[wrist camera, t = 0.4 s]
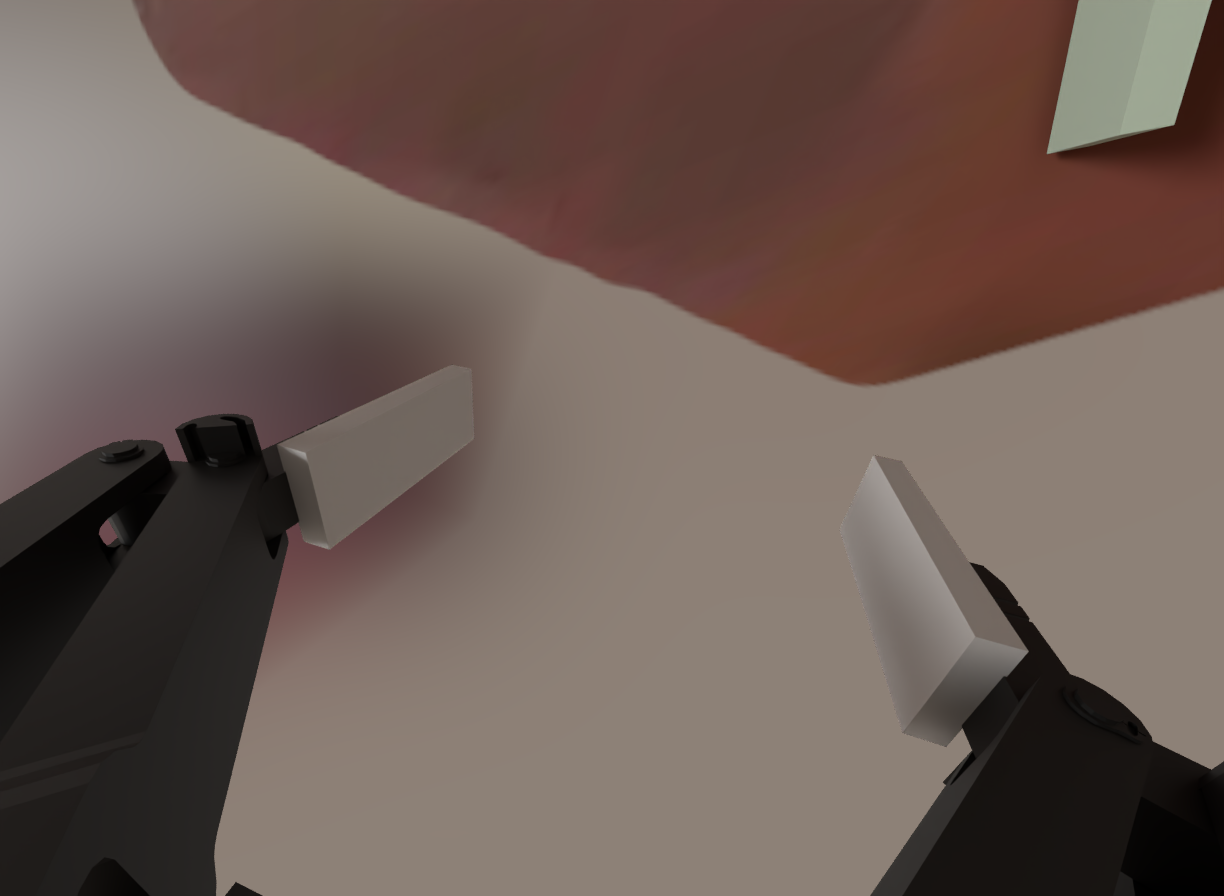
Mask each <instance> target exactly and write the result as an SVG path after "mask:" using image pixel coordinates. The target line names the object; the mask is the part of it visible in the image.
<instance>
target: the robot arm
mask: <svg viewBox="0 0 1224 896" xmlns="http://www.w3.org/2000/svg"><path fill="white" fill-rule="evenodd" d="M175 430H176V433H177V435H178V438H179V440H180V443H181V445H182V448H183V450H184V453H185V455H186V458H187V460H188V462H181V461H180V462H179V461H169V459H168V456H167V454H166V452H165V449H164V447H163V444H161V443H159V442H157V441H150V440H124V441H122V442H120V441H118V442H113V443H111V444H109V445H107V446H103V447H100V448H97V449H95V450H93V451H90V452H88V453H86V454H84V455H83V456H81V457H79V458H78V459H76V460H74V461H72V462H71V463H69V464H67V465H66V466H64V467H62V468H61V469H59V470H57V471H56V472H54V473H52V474H51V475H49V476H47V477H45V478H44V479H42V480H40V481H39V482H37V483H36V484H34V485H32V486H30V487H29V488H27V489H25V490H24V491H22V492H20V493H19V494H17V495H15V496H13V497H12V498H10V499H8V500H7V501H5V502H3V503H2V504H0V896H216V873H215V862H214V849H215V841H216V836H217V831H218V827H219V823H220V819H221V815H222V811H223V807H224V803H225V799H226V795H227V791H228V787H229V783H230V779H231V775H232V770H233V766H234V762H235V758H236V754H237V750H238V746H239V742H240V738H241V733H242V730H243V725H244V722H245V717H246V713H247V710H248V706H249V701H250V697H251V693H252V689H253V685H254V681H255V677H256V673H257V669H258V665H259V661H260V657H261V653H262V648H263V645H264V641H265V636H266V632H267V628H268V624H269V620H270V616H271V612H272V608H273V604H274V599H275V596H276V592H277V588H278V584H279V580H280V576H281V572H282V568H283V563H284V559H285V555H286V551H287V547H288V537H287V533H286V530H287V529H289V528H290V527H292V526H293V525H295V524H296V523H298V522H299V526H300V529H301V533H302V537H303V540H304V542H307V543H310V544H314V545H317V546H320V547H323V548H326V549H329V550H330V549H331V548H332V547H333V546H335V545H336V544H337V543H339V542H340V541H341V540H343V539H344V538H345V537H347V536H348V535H349V534H351V533H352V532H353V531H354V530H356V529H357V528H358V527H360V526H361V525H362V524H363V523H365V522H366V521H367V520H369V519H370V518H371V517H373V516H374V515H375V514H377V513H378V512H379V511H381V510H382V509H383V508H384V507H386V506H387V505H388V504H390V503H391V502H392V501H394V500H395V499H396V498H397V497H399V496H400V495H401V494H403V493H404V492H405V491H406V490H408V489H409V488H410V487H412V486H413V485H414V484H416V483H417V482H418V481H420V480H421V479H422V478H424V477H425V476H426V475H427V474H429V473H430V472H431V471H433V470H434V469H435V468H437V467H438V466H439V465H441V464H442V463H443V462H444V461H446V460H447V459H448V458H449V457H451V456H452V455H454V454H455V453H456V452H457V451H459V450H460V449H461V448H463V447H464V446H465V445H466V444H468V443H469V442H470V441H472V440H473V439H474V422H473V395H472V370H471V369H470V368H465V367H461V366H456V365H450V366H448V367H445V368H443V369H441V370H439V371H437V372H435V373H432V374H430V375H428V376H426V377H424V378H421V379H420V380H417V381H415V382H413V383H411V384H409V385H406V386H404V387H402V388H400V389H397V390H395V391H393V392H391V393H389V394H387V395H384V396H382V397H380V398H378V399H376V400H373V401H371V402H369V403H367V404H365V405H362V406H361V407H358V408H356V409H354V410H352V411H350V412H347V413H345V414H343V415H341V416H336V417H334V418H332V419H330V420H327V421H325V422H323V423H321V424H320V425H319V426H317V425H316V426H314V427H312V428H310V429H308V430H307V431H306V432H301V433H299V434H297V435H295V436H292V437H290V438H288V439H286V440H284V441H281V442H279V443H277V444H275V445H272V446H270V447H268V448H266V449H264V450H261V447H260V443H259V440H258V437H257V433H256V430H255V427H254V423H253V420H252V419H251V418H249V417H247V416H244V415H239V414H219V415H211V416H205V417H201V418H197V419H194V420H191V421H189V422H186V423H183V424H181V425H180V426H179V427H177V428H176V429H175ZM107 519H108V520H109V522H110V524H111V526H112V528H113V529H114V531H115V533H116V535H117V537H118V538H117V539H116V540H114V541H113V542H112V543H111V544H110V545H106V544H105V543H104V542H103V541H102V539H101V537H100V535H99V530H100V527H101V526H102V524H104V522H105V521H106V520H107ZM840 532H841V535H842V538H843V541H844V545H845V548H846V551H847V555H848V558H849V561H850V564H851V568H852V571H853V574H854V577H855V581H856V584H857V587H858V590H859V594H860V596H861V600H862V603H863V606H864V610H865V613H866V616H867V620H868V623H869V626H870V629H871V632H872V636H873V639H874V642H875V645H876V648H877V652H878V655H879V658H880V662H881V665H882V668H883V671H884V675H885V678H886V681H887V684H888V687H889V691H890V694H891V697H892V700H893V703H894V707H895V710H896V714H897V717H898V720H899V723H900V727H901V730H902V733H904V734H907V735H910V736H914V737H917V738H920V739H923V740H926V741H929V742H932V743H935V744H939V745H942V746H945V747H947V745H948V744H949V743H950V742H951V741H952V740H953V738H954V737H955V736H956V735H957V734H958V733H959V732H960V730H961V729H962V728H963V730H964V732H965V735H966V737H967V739H968V741H969V744H970V746H971V749H972V751H971V752H970V753H969V755H967V757H966V758H965V759H964V760H963V761H962V762H961V763H960V764H959V765H958V766H957V767H956V769H955V770H954V771H953V772H952V773H951V774H950V775H949V776H948V777H947V778H946V779H945V780H944V781H943V783H944V784H945V785H946V786H945V788H944V789H943V790H942V792H941V793H940V795H939V796H938V798H937V799H936V800H935V802H934V804H933V805H932V806H931V808H930V809H929V811H928V812H927V814H926V815H925V817H924V818H923V819H922V821H921V822H920V824H919V825H918V827H917V828H916V830H915V831H914V833H913V834H912V835H911V837H910V838H909V840H908V841H907V843H906V844H905V846H904V847H903V849H902V850H901V852H900V853H899V855H898V856H897V857H896V859H895V860H894V862H893V863H892V865H891V866H890V868H889V869H888V871H887V872H886V874H885V875H884V877H883V878H882V879H881V881H880V882H879V884H878V885H877V887H876V888H875V890H874V891H873V893H872V894H871V896H1224V762H1222V763H1221V764H1219V765H1218V766H1216V767H1215V768H1214V769H1212V770H1211V769H1209V768H1207V767H1204V766H1202V765H1200V764H1198V763H1196V762H1194V761H1192V760H1190V759H1188V758H1186V757H1184V756H1182V755H1180V754H1178V753H1175V752H1174V751H1172V750H1169V749H1167V748H1165V747H1163V746H1161V745H1159V744H1157V743H1155V742H1153V741H1152V737H1151V735H1150V734H1149V732H1148V731H1147V729H1146V728H1145V726H1144V725H1143V724H1142V722H1141V721H1140V720H1139V719H1138V718H1137V717H1136V716H1135V715H1134V714H1133V713H1132V712H1131V711H1130V710H1129V709H1128V708H1127V707H1126V706H1124V705H1123V704H1122V703H1121V702H1119V701H1118V700H1116V699H1115V698H1114V697H1112V696H1111V695H1110V694H1108V693H1107V692H1106V691H1104V690H1103V689H1101V688H1099V687H1097V686H1095V685H1093V684H1091V683H1090V682H1088V681H1086V680H1084V679H1082V678H1079V677H1076V676H1073V675H1071V674H1069V672H1068V671H1067V669H1066V668H1065V667H1064V665H1063V664H1062V663H1061V661H1060V660H1059V658H1058V657H1057V656H1056V654H1055V653H1054V652H1053V650H1052V649H1051V647H1050V646H1049V645H1048V643H1047V642H1046V640H1045V639H1044V638H1043V636H1042V635H1041V634H1040V632H1039V631H1038V629H1037V628H1036V627H1035V625H1034V624H1033V623H1032V622H1029V617H1028V616H1027V614H1026V613H1025V611H1024V610H1023V609H1022V608H1021V607H1020V606H1018V602H1017V601H1016V599H1015V598H1014V596H1013V595H1012V594H1011V592H1010V591H1009V589H1008V588H1007V587H1006V585H1005V584H1004V583H1003V582H1001V581H1000V580H999V579H998V578H997V577H996V576H994V575H993V574H992V573H991V572H990V571H989V570H987V569H986V568H985V567H984V566H982V565H978V564H974V563H970V562H969V561H968V560H967V558H966V557H965V555H964V554H963V552H962V551H961V549H960V548H959V546H958V545H957V543H956V542H955V540H954V539H953V537H952V536H951V534H950V533H949V531H948V530H947V528H946V527H945V525H944V524H943V522H942V521H941V519H940V518H939V516H938V515H937V513H936V512H935V510H934V509H933V507H932V506H931V504H930V503H929V501H928V500H927V498H926V497H925V495H924V494H923V492H922V491H921V489H920V488H919V486H918V485H917V483H916V482H915V480H914V479H913V477H912V476H911V474H910V473H909V471H908V470H907V468H906V467H905V465H904V464H903V462H902V461H899V460H894V459H889V458H885V457H880V456H876V455H873V458H872V460H871V462H870V464H869V466H868V468H867V471H866V473H865V475H864V477H863V479H862V482H861V484H860V486H859V488H858V490H857V492H856V494H855V497H854V499H853V501H852V503H851V505H850V508H849V510H848V512H847V514H846V516H845V518H844V521H843V523H842V525H841V527H840ZM225 896H262V895H260V894H258V893H256V892H254V891H252V890H250V889H248V888H246V887H244V886H243V885H240V884H239V883H237V882H235V884H234V885H233V886H232V888H231V889H230V890H229V891H228V893H227V894H226V895H225Z"/></svg>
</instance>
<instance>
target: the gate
mask: <svg viewBox="0 0 1224 896" xmlns="http://www.w3.org/2000/svg"><path fill="white" fill-rule="evenodd" d="M1211 1H1212V0H1079V2H1078V7H1077V12H1076V16H1075V21H1074V26H1073V31H1072V36H1071V40H1070V45H1069V50H1068V55H1067V60H1066V64H1065V69H1064V74H1063V79H1062V84H1061V88H1060V93H1059V98H1058V103H1057V107H1056V112H1055V117H1054V122H1053V127H1052V131H1051V136H1050V141H1049V146H1048V151H1047V154H1050V153H1056V152H1061V151H1066V150H1072V149H1077V148H1083V147H1088V146H1092V145H1096V144H1100V143H1104V142H1108V141H1112V140H1116V139H1120V138H1124V137H1128V136H1132V135H1136V134H1140V133H1144V132H1148V131H1152V130H1156V129H1160V128H1164V127H1168V126H1172V125H1174V124H1175V121H1176V118H1177V114H1178V111H1179V108H1180V104H1181V101H1182V98H1183V94H1184V91H1185V88H1186V84H1187V81H1188V78H1189V74H1190V71H1191V68H1192V64H1193V61H1194V58H1195V54H1196V51H1197V48H1198V44H1199V41H1200V38H1201V34H1202V31H1203V28H1204V25H1205V21H1206V18H1207V15H1208V11H1209V8H1210V5H1211Z"/></svg>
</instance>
